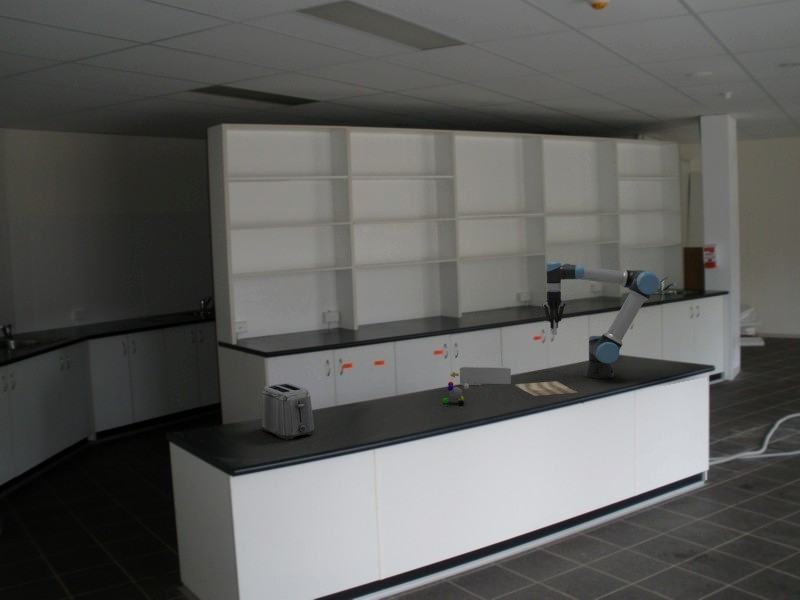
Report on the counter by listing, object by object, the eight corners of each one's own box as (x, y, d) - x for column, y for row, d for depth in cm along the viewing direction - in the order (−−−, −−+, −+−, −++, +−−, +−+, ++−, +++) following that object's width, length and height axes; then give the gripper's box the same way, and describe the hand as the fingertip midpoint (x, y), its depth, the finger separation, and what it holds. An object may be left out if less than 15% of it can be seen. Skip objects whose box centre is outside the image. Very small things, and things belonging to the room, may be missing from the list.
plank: (557, 383, 406) (557, 381, 406) (569, 390, 393) (569, 388, 393) (515, 386, 401) (515, 384, 400) (526, 393, 387) (526, 391, 387)
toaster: (284, 443, 308) (282, 396, 306) (253, 427, 332) (251, 384, 330) (320, 435, 317) (319, 390, 315) (288, 421, 341) (286, 379, 339)
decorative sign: (510, 385, 409) (510, 366, 408) (510, 386, 405) (510, 368, 404) (451, 383, 415) (450, 365, 414) (450, 385, 411) (449, 367, 410)
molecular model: (472, 402, 372) (472, 382, 371) (459, 407, 361) (459, 387, 360) (452, 399, 378) (452, 380, 377) (439, 404, 368) (438, 384, 367)
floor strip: (569, 390, 393) (569, 388, 392) (578, 394, 383) (578, 392, 383) (526, 393, 387) (526, 391, 387) (534, 398, 377) (534, 395, 377)
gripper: (561, 289, 415) (562, 332, 417) (539, 291, 411) (540, 334, 414) (568, 290, 407) (568, 334, 410) (545, 292, 404) (546, 336, 406)
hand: (554, 334), depth 412 cm, fingers closed
